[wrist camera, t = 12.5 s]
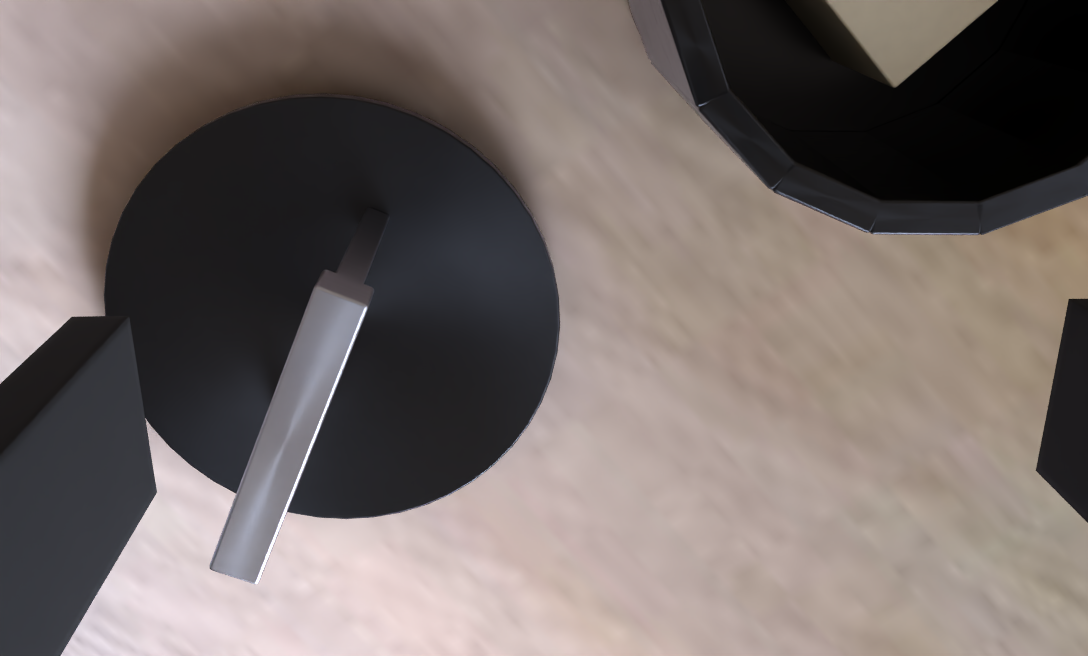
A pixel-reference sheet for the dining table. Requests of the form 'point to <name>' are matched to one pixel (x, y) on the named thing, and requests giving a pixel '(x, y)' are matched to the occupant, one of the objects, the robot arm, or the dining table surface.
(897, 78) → the block
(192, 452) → the lid
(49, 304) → the dining table surface
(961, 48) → the pot
